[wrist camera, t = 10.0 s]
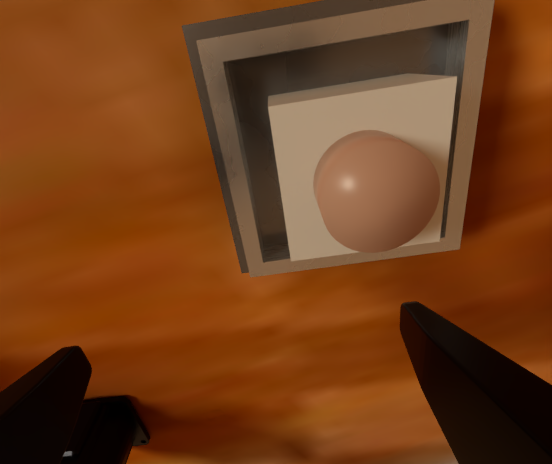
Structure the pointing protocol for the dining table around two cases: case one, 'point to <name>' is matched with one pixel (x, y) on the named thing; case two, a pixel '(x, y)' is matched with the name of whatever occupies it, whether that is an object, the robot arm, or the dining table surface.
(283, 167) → the beige cube with knob
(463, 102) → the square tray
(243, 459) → the dining table surface
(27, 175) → the dining table surface
